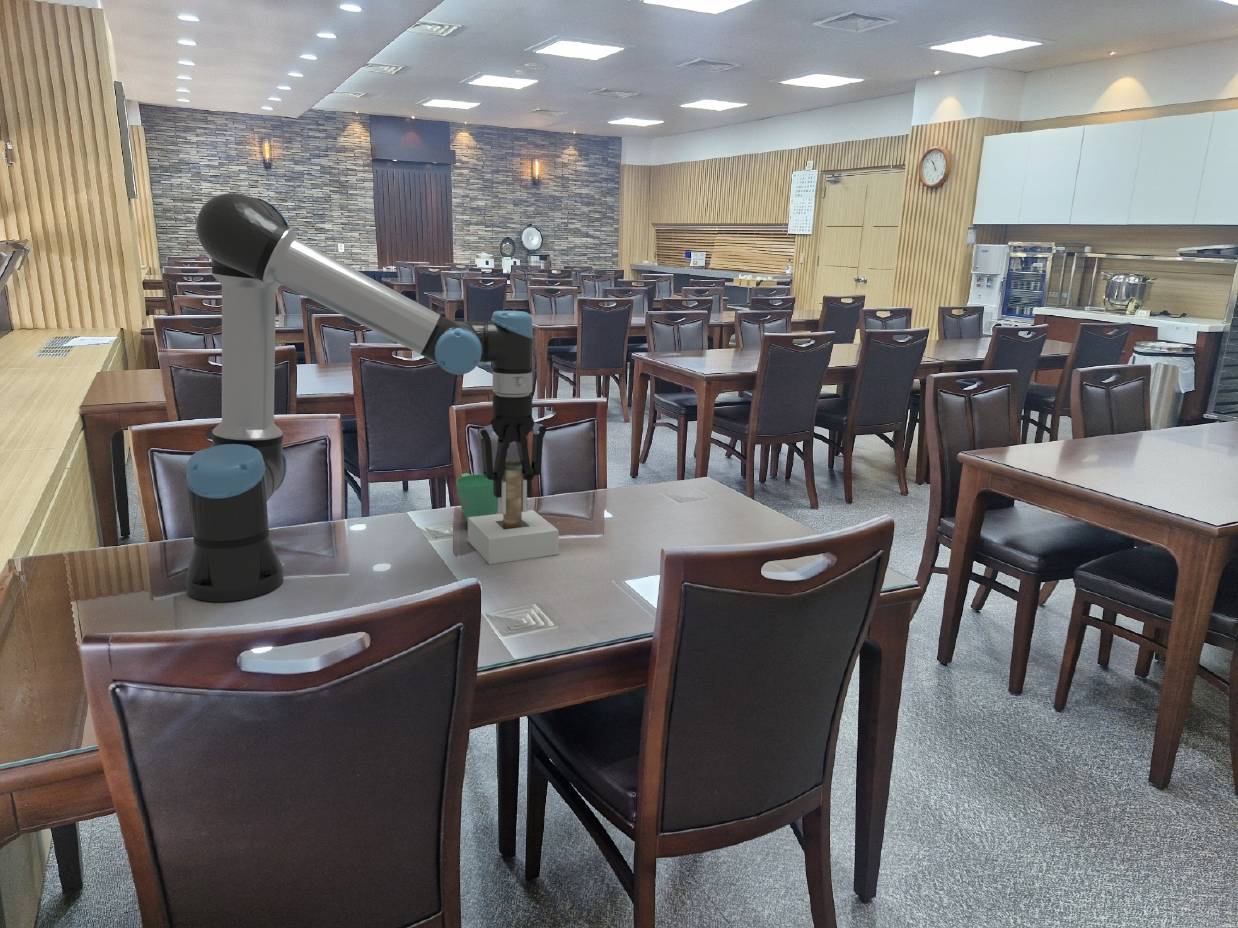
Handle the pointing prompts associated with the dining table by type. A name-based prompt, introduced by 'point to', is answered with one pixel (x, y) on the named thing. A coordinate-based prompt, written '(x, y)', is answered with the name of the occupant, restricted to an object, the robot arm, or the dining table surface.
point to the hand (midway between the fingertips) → (512, 511)
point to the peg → (513, 494)
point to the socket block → (512, 538)
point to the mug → (476, 495)
